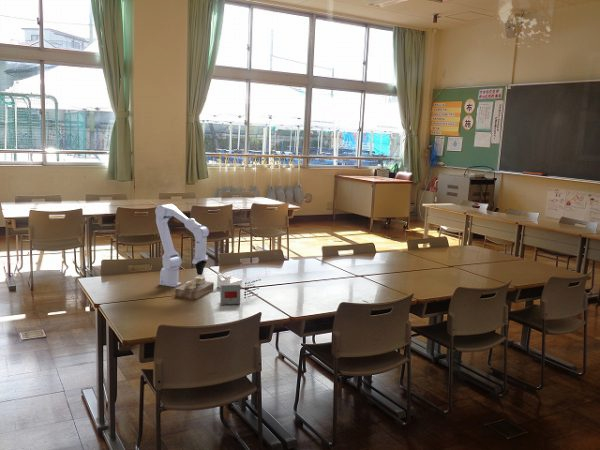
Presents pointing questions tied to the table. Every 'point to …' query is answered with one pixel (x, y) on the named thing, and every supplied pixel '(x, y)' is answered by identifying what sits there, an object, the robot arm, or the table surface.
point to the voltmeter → (232, 293)
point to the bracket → (227, 280)
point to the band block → (194, 290)
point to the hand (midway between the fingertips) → (199, 274)
